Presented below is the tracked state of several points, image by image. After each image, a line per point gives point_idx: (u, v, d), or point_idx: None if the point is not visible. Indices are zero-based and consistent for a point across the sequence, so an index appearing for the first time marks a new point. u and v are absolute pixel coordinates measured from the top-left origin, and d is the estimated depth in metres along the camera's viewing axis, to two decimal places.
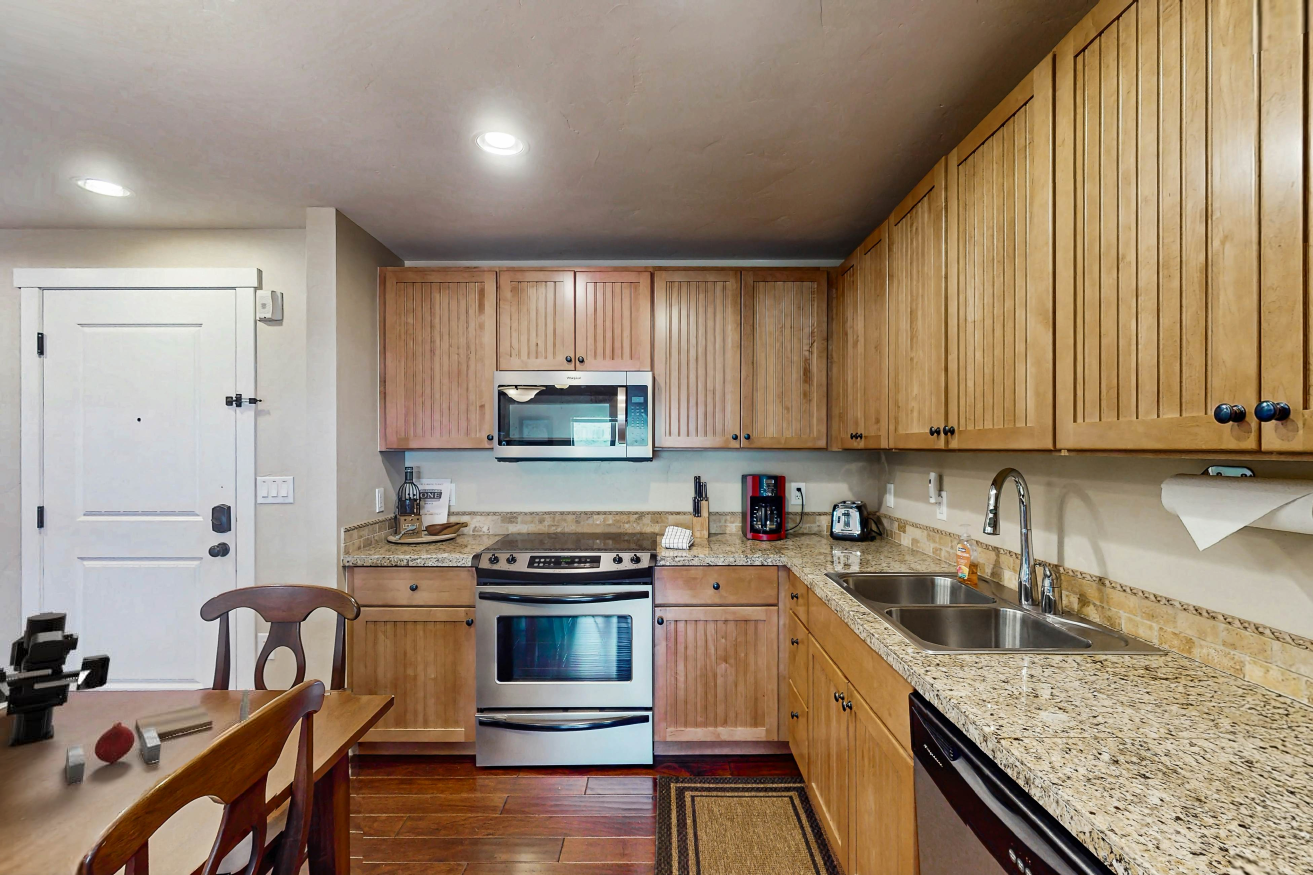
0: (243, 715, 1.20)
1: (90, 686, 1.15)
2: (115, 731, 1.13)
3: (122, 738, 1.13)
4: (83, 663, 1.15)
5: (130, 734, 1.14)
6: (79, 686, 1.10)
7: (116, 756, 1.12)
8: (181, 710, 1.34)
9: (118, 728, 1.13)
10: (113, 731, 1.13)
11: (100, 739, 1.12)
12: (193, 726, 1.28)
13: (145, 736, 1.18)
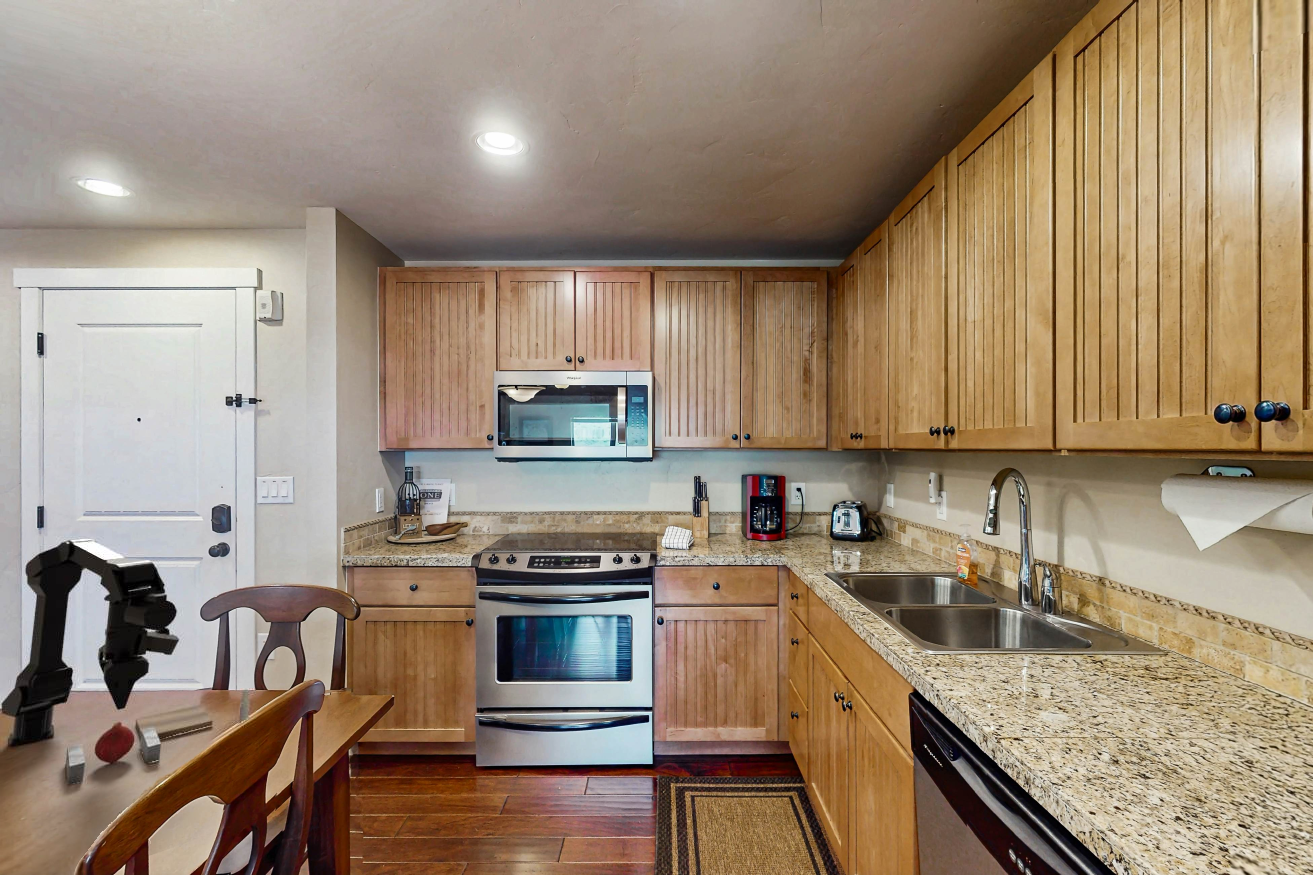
0: (243, 715, 1.20)
1: None
2: (115, 731, 1.13)
3: (122, 738, 1.13)
4: None
5: (130, 734, 1.14)
6: None
7: (116, 756, 1.12)
8: (181, 710, 1.34)
9: (118, 728, 1.13)
10: (113, 731, 1.13)
11: (100, 739, 1.12)
12: (193, 726, 1.28)
13: (145, 736, 1.18)
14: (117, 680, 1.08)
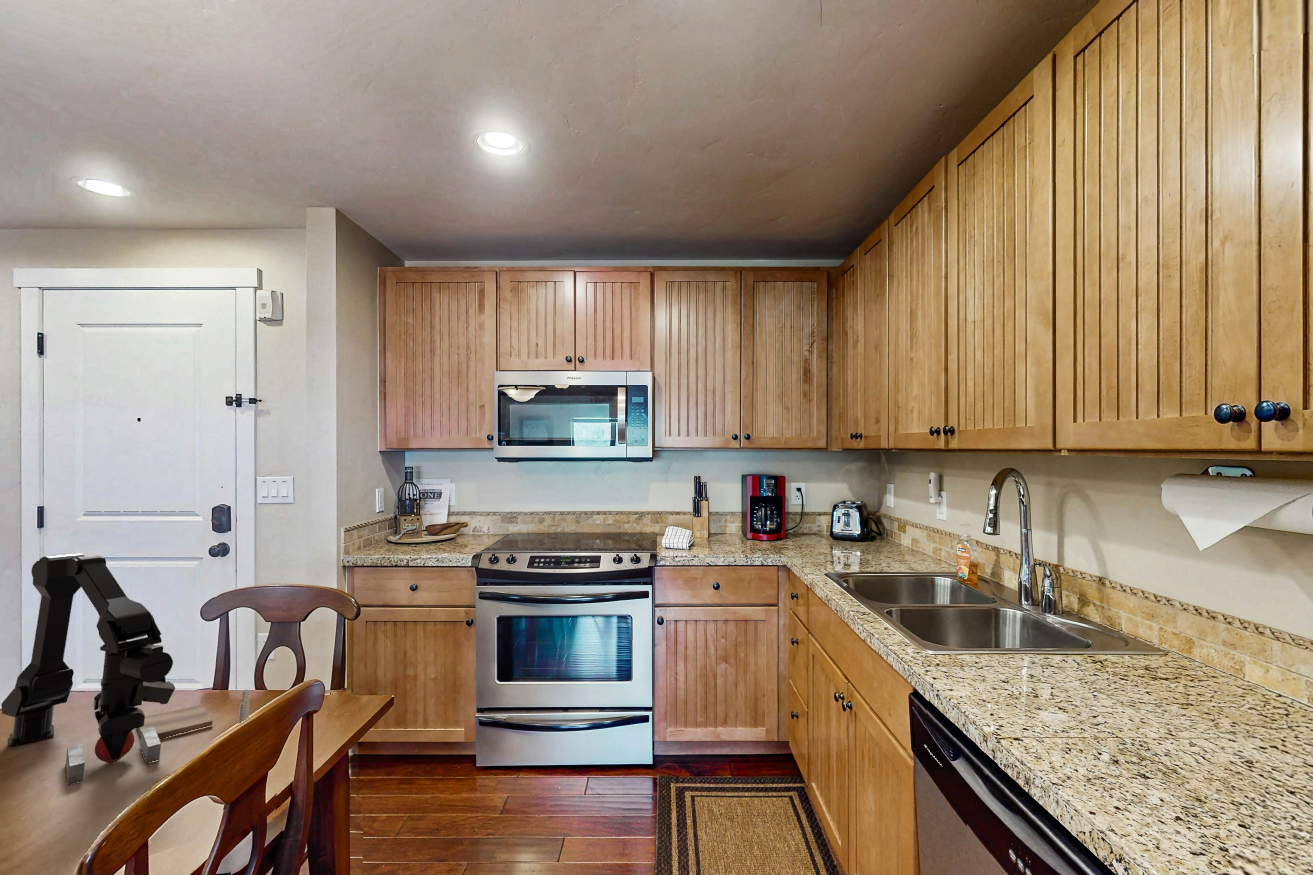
0: (243, 715, 1.20)
1: None
2: None
3: None
4: None
5: (130, 734, 1.14)
6: None
7: None
8: (181, 710, 1.34)
9: None
10: None
11: (100, 739, 1.12)
12: (193, 726, 1.28)
13: (145, 736, 1.18)
14: None
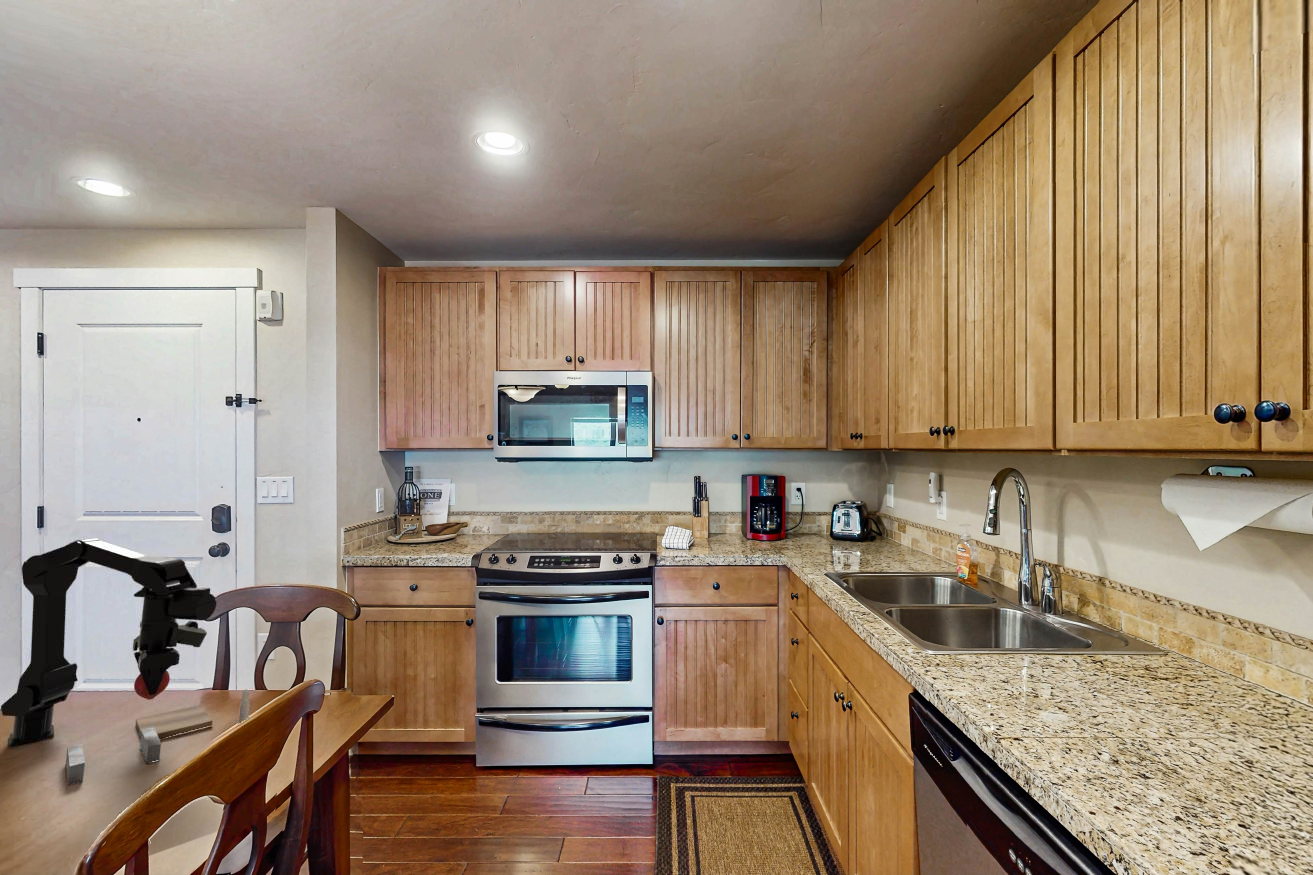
0: (243, 715, 1.20)
1: None
2: None
3: None
4: None
5: (166, 673, 1.23)
6: None
7: None
8: (181, 710, 1.34)
9: None
10: None
11: (139, 676, 1.21)
12: (193, 726, 1.28)
13: (145, 736, 1.18)
14: None
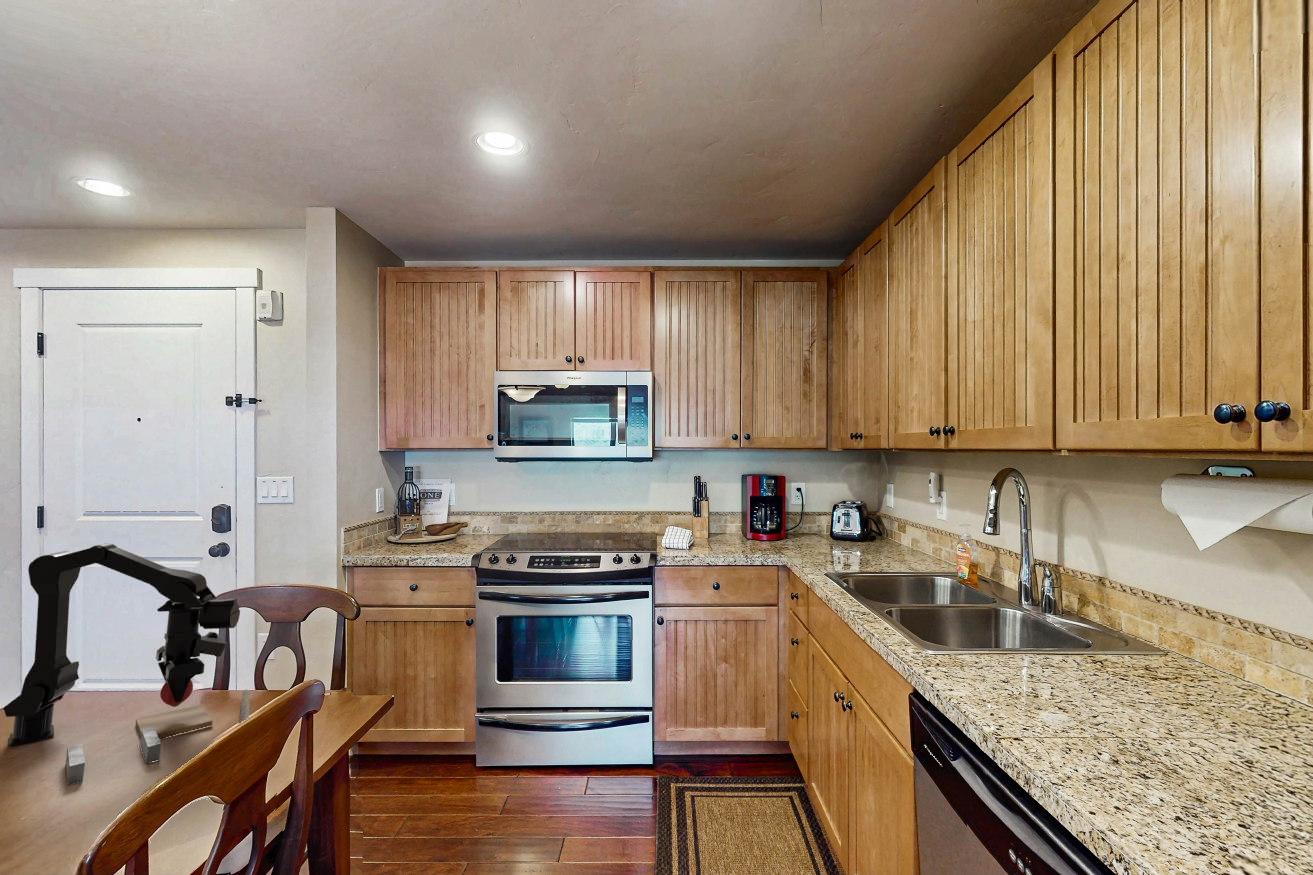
0: (243, 715, 1.20)
1: None
2: None
3: None
4: None
5: (190, 682, 1.31)
6: None
7: None
8: (181, 710, 1.34)
9: None
10: None
11: (165, 685, 1.28)
12: (193, 726, 1.28)
13: (145, 736, 1.18)
14: None
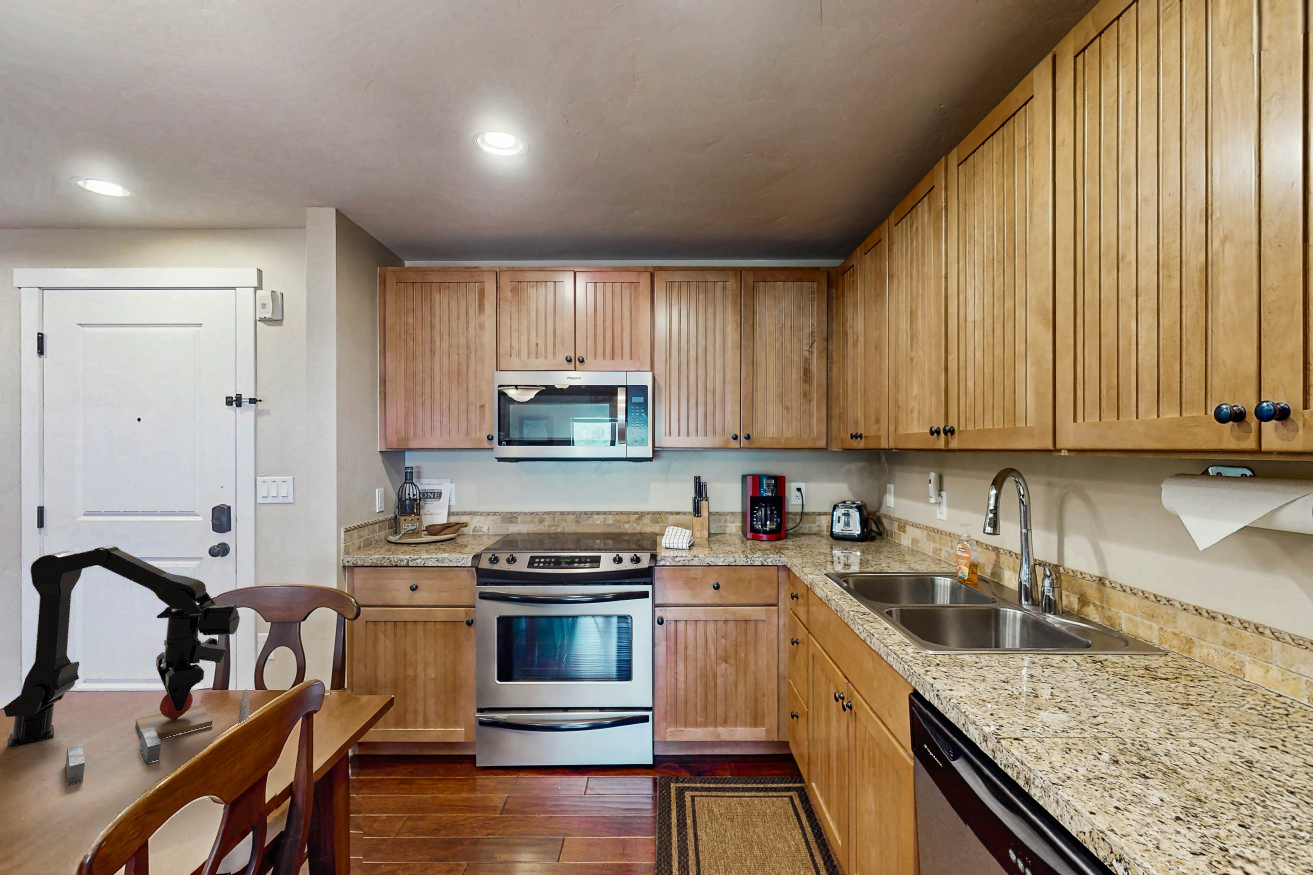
0: (243, 715, 1.20)
1: None
2: None
3: None
4: None
5: (189, 695, 1.31)
6: None
7: (178, 713, 1.28)
8: None
9: None
10: None
11: (165, 698, 1.28)
12: (193, 726, 1.28)
13: (145, 736, 1.18)
14: (177, 686, 1.24)
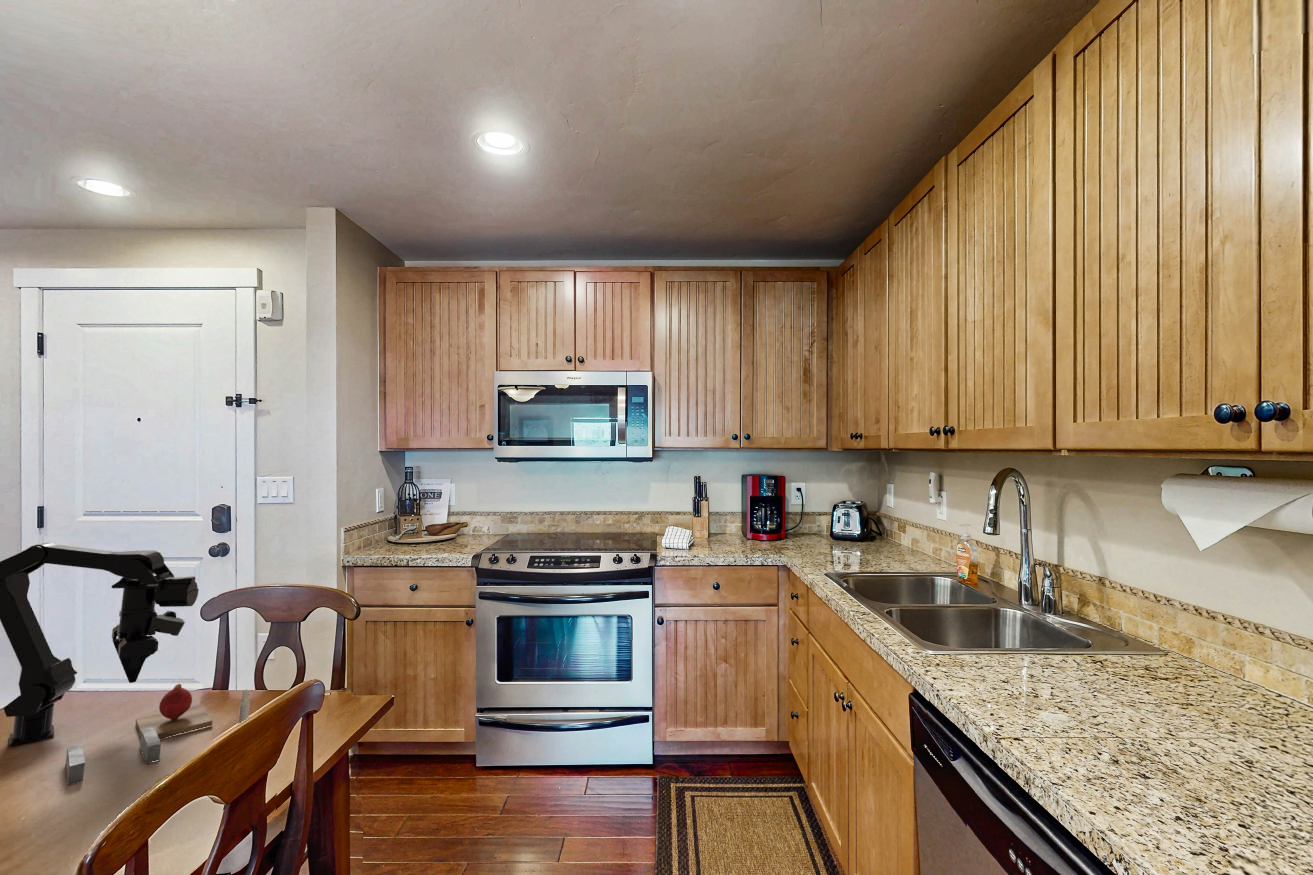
0: (243, 715, 1.20)
1: None
2: (176, 692, 1.29)
3: (182, 698, 1.29)
4: None
5: (189, 695, 1.31)
6: None
7: (177, 713, 1.28)
8: None
9: (179, 689, 1.30)
10: (175, 691, 1.29)
11: (164, 698, 1.28)
12: (193, 726, 1.28)
13: (145, 736, 1.18)
14: (130, 656, 1.22)
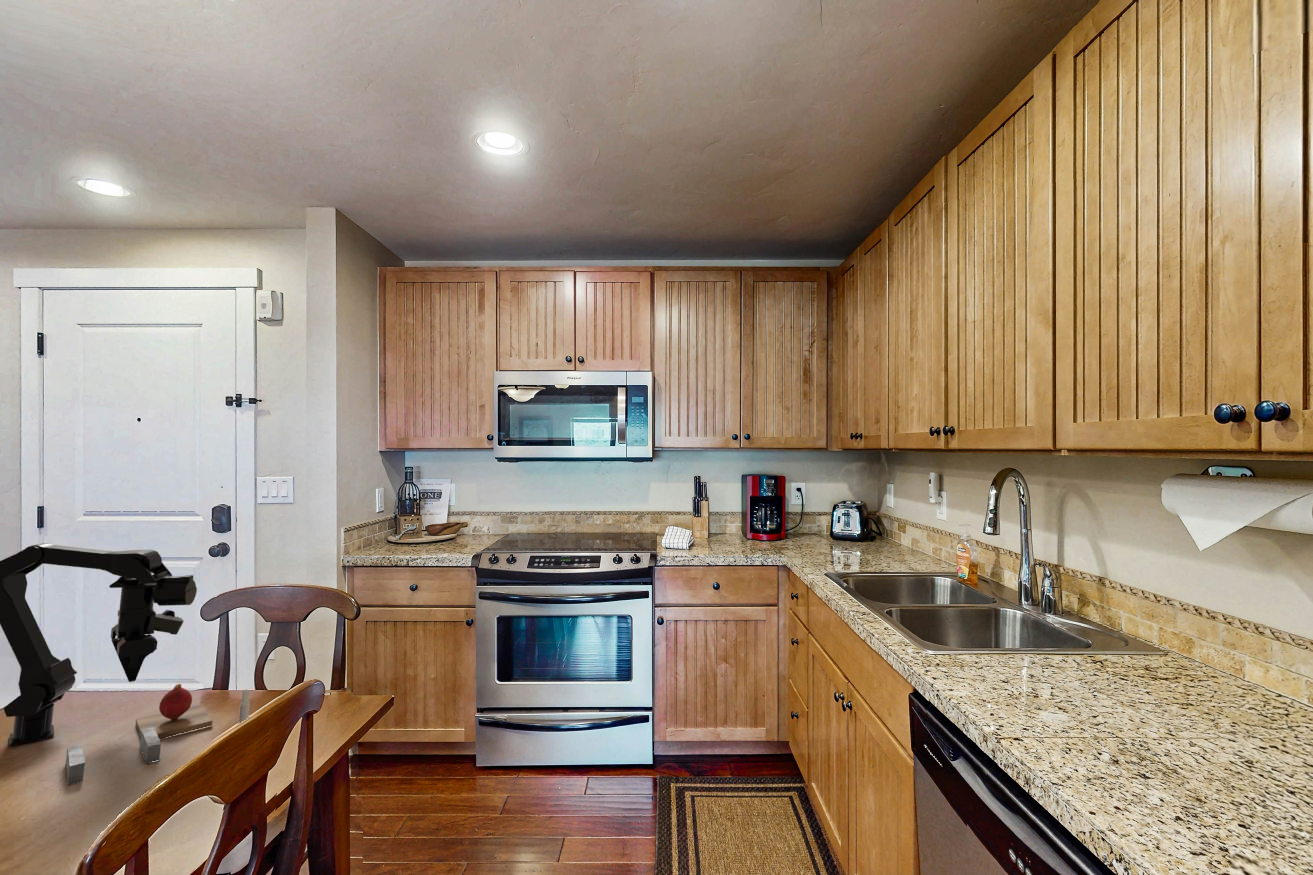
0: (243, 715, 1.20)
1: None
2: (176, 692, 1.29)
3: (182, 698, 1.29)
4: None
5: (189, 695, 1.31)
6: None
7: (177, 713, 1.28)
8: None
9: (179, 689, 1.30)
10: (175, 691, 1.29)
11: (164, 698, 1.28)
12: (193, 726, 1.28)
13: (145, 736, 1.18)
14: (129, 655, 1.22)
